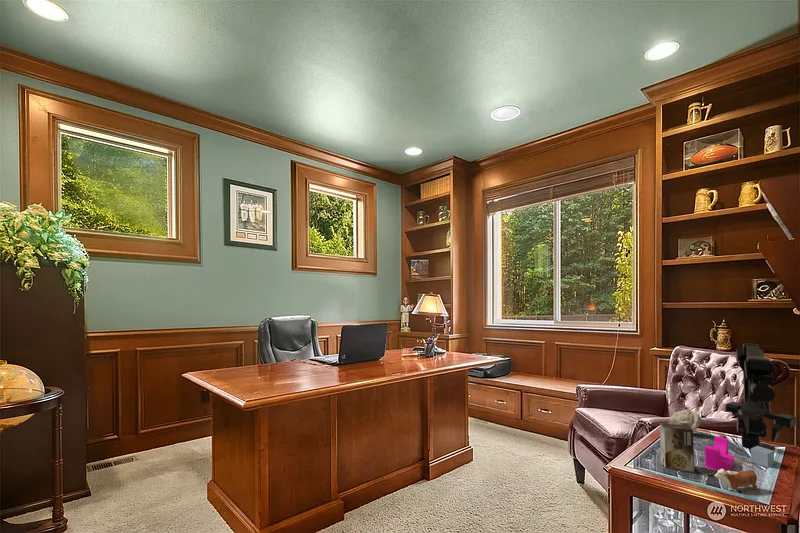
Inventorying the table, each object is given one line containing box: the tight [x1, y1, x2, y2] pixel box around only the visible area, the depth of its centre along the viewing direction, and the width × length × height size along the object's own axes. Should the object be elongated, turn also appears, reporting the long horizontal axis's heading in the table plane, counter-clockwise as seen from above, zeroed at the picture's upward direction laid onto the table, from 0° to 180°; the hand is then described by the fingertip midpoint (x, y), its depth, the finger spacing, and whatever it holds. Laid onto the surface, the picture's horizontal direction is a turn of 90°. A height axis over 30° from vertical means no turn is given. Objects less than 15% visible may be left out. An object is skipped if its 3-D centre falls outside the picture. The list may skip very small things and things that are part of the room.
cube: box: [750, 445, 775, 468], centre depth 152 cm, size 5×5×5 cm
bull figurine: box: [714, 469, 758, 493], centre depth 132 cm, size 4×13×8 cm, turn 95°
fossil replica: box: [668, 408, 702, 432], centre depth 181 cm, size 12×8×10 cm
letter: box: [734, 457, 754, 466], centre depth 153 cm, size 12×10×1 cm
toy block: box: [704, 436, 735, 471], centre depth 151 cm, size 15×6×8 cm, turn 130°
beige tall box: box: [659, 420, 695, 473], centre depth 148 cm, size 9×6×16 cm
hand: (759, 437), depth 146 cm, fingers open, 7 cm apart
